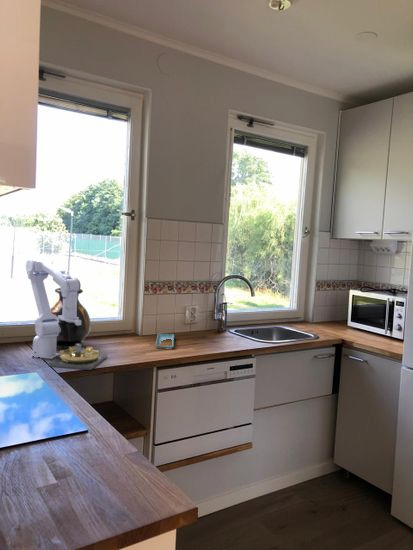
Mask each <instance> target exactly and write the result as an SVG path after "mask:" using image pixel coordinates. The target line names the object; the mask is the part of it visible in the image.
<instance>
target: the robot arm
mask: <svg viewBox="0 0 413 550" xmlns="http://www.w3.org/2000/svg"><path fill="white" fill-rule="evenodd" d="M25 270H26V274H27V278H28V279H29V281H30V284H31V288H32V292H33V296H34V299H35V304H36V308H37V312H38V317H37V318H36V319H35V321H34V326H35V327H34V331H35V334H36V335H35V337H33V340H32V355H31V357H32V356H34V357H33V358H38V357H40V359H51V360H54V359H55V358H57V357H59V356H60V352H57V349H56V343H57V336H58V334H59V333H60V332H61V331H62V336H63V339H67V338H68V337H69V341H73V340H74V339H75V336H76V333H77V330H78V328H79V327H80V325H81V320H79V317H77V292H79V290H80V289H81V287H82V286H81V285H82V284H81V282H80V279H78V278H72V276H71V275H69V274H67V273H66V271H65V270H62V269H58V268H57V267H56V266H55V265H54V264H53V261H52V260H51V259H50V258H28V260H27V261H26V264H25ZM49 276H51V277H52V280H53V282H55V284H57V285H58V286H59V288H60V289H61V292H62V297H63V311H62V315H58V317H57V316H55V315H54V314H52V313H51V306H50V302H49V298H48V295H47V294H48V293H47V290H46V286H45V283H44V280H46V279H47V278H48V277H49ZM59 320H61V322H59Z"/></svg>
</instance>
